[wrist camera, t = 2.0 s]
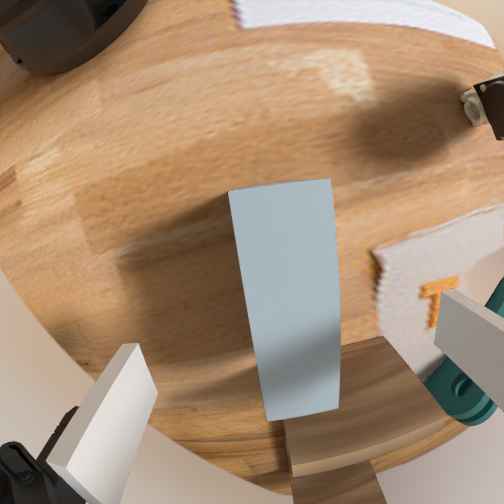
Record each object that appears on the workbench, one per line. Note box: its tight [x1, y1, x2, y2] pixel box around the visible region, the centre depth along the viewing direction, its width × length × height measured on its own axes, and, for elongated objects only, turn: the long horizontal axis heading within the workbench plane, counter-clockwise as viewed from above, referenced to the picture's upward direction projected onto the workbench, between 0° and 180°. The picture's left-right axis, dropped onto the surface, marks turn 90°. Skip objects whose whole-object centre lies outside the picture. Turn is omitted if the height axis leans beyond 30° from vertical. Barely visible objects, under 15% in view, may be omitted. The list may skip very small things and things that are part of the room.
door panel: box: [228, 178, 341, 422], centre depth 16 cm, size 12×4×9 cm, turn 8°
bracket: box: [424, 277, 504, 426], centre depth 20 cm, size 18×7×8 cm, turn 142°
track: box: [282, 336, 447, 504], centre depth 19 cm, size 20×10×11 cm, turn 8°
